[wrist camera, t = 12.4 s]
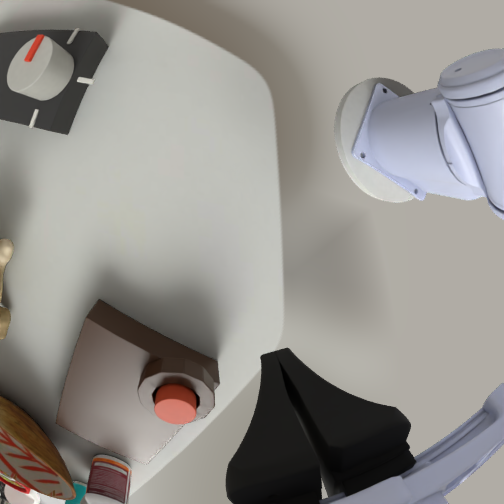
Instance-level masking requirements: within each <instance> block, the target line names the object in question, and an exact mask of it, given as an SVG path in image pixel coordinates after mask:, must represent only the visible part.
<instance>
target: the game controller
mask: <svg viewBox="0 0 504 504" xmlns="http://www.w3.org/2000/svg"><path fill="white" fill-rule="evenodd" d="M5 485H6V484H5V483H4V482H2V481H0V493H1V496H0V498H1V499H2V500H4V501H6V500H7V499H6V496H5V493H4V489H5ZM7 501H8V500H7Z"/></svg>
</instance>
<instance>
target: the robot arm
mask: <svg viewBox="0 0 504 504" xmlns="http://www.w3.org/2000/svg"><path fill="white" fill-rule="evenodd" d="M383 90H384V91H385V93H384V92H383ZM351 153H352V156H353V157H354V158H356V159H358V160H359V161H361V162H363V163H364V164H366V165H367V166H369V167H371V168H372V169H374V170H375V171H377V172H379V173H380V174H382V175H383V176H385V177H386V178H388V179H389V180H391V181H392V182H394V183H395V184H397V185H398V186H400V187H401V188H403V189H404V190H406V191H407V192H408V193H410V194H411V195H413V196H414V197H415V198H417V199H418V200H421V201H422V200H424V199H425V196H426V193H433V194H438V195H443V196H448V197H454V198H458V199H463V200H475V199H478V198H480V197H487V200H488V204H489V206H490V208H491V210H492V211H493V212H494V213H495V214H496V215H497V216H498V217H500V218H501V219H503V220H504V48H503V49H488V50H484V51H480V52H477V53H473V54H471V55H468V56H466V57H464V58H462V59H459V60H457V61H456V62H454V63H453V64H451V65H449V66H448V67H447V68H445V69H444V70H443V72H442V73H441V75H440V79H439V82H438V88H434V89H430V90H425V91H422V92H418V93H414V94H410V95H406V96H403V97H399V96H397V95H396V94H395V93H394V92H392V91H391V90H389V89H388V88H387V87H385V86H384V85H383V84H381V83H377V84H375V85H374V88H373V91H372V94H371V97H370V100H369V103H368V106H367V109H366V112H365V115H364V117H363V120H362V123H361V126H360V129H359V131H358V134H357V137H356V139H355V142H354V145H353V147H352V151H351ZM361 153H362V154H363V157H362V158H361V156H360V154H361ZM414 190H416V191H415V192H414ZM260 359H261V384H260V390H259V396H258V400H257V405H256V408H255V411H254V415H253V418H252V420H251V423H250V426H249V428H248V430H247V433H246V435H245V437H244V439H243V441H242V443H241V444H240V447H239V448H238V450H237V452H236V453H235V455H234V456H233V458H232V459H231V461H230V462H229V464H228V468H227V474H226V492H227V497H228V499H229V500H230V501H231V502H232V503H233V504H449V503H448V502H447V500H446V499H445V497H444V496H445V495H446V494H448V493H449V492H450V491H452V490H453V489H455V488H456V487H457V486H458V485H460V484H461V483H462V482H463V481H465V480H466V479H467V478H468V477H469V476H470V475H472V474H473V473H474V472H475V471H476V470H477V469H478V468H480V466H482V465H483V464H484V463H485V462H486V461H487V460H488V459H489V458H490V457H491V456H492V455H493V454H494V453H495V452H496V451H497V450H498V449H499V448H500V447H501V446H502V445H503V444H504V383H502V384H501V385H499V386H498V387H497V388H496V390H494V391H493V392H492V393H491V394H490V395H489V396H488V398H487V399H486V401H485V402H484V405H483V407H482V408H481V409H480V410H479V411H478V412H477V413H475V414H474V415H473V416H472V417H471V418H469V419H468V420H467V421H466V422H464V423H463V424H462V425H461V426H459V427H458V428H457V429H455V430H454V431H453V432H451V433H450V434H449V435H447V436H446V437H444V438H443V439H442V440H441V441H439V442H437V443H436V444H434V445H433V446H431V447H430V448H428V449H427V450H425V451H424V452H422V453H420V454H419V455H417V456H415V457H413V455H412V454H411V453H410V451H409V449H410V446H409V445H408V443H407V442H406V439H407V437H408V434H409V432H410V429H411V424H410V422H409V420H408V419H407V418H406V417H405V416H404V414H402V413H401V412H400V411H399V410H398V409H397V408H396V407H391V406H387V405H381V404H377V403H374V402H370V401H367V400H364V399H362V398H359V397H356V396H354V395H352V394H349V393H347V392H345V391H343V390H341V389H339V388H337V387H336V386H334V385H332V384H331V383H329V382H327V381H326V380H324V379H323V378H321V377H320V376H319V375H317V374H316V373H315V372H313V371H312V370H311V369H310V368H308V367H307V366H306V365H305V364H304V363H303V362H302V361H301V360H299V359H298V358H297V357H296V356H295V355H294V353H293V352H292V351H291V350H290V349H289V348H285V349H281V350H277V351H274V352H270V353H267V354H263V355H262V356H261V357H260ZM321 478H322V481H323V483H324V486H325V489H326V492H327V495H328V498H325V499H322V492H321V489H322V482H321Z"/></svg>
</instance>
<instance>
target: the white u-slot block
mask: <svg viewBox="0 0 504 504" xmlns="http://www.w3.org/2000/svg"><path fill="white" fill-rule="evenodd" d="M4 493H5V496H6V499H7V500H8V502H9V503H10V504H39V503H40V497H39V495H38V493H37V491H34V490H32V489H31V490H30V493H29V494H25V493H22V492H20V491H18V490H16V489H14V488H12V487H10V486H8V485H7V484H6V485H5V489H4Z"/></svg>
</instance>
